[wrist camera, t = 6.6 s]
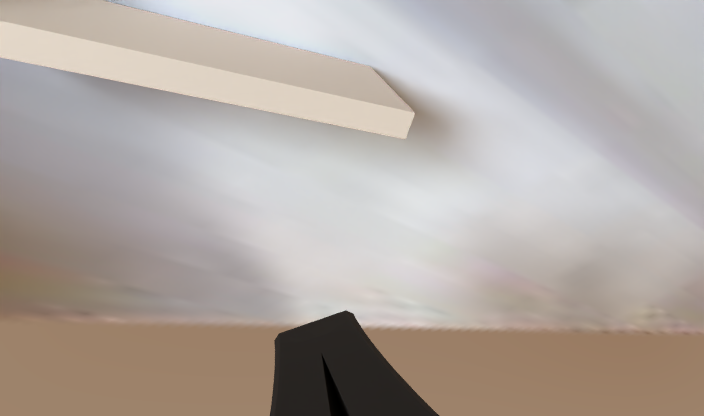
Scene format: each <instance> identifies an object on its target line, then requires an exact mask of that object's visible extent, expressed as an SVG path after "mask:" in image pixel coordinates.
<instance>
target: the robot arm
mask: <svg viewBox="0 0 704 416" xmlns="http://www.w3.org/2000/svg"><path fill="white" fill-rule="evenodd" d="M270 416H439V415H438V414H437V413H436V412H435V411H434V410H433V409H432V408H431V407H430V406H428V404H427V403H425V401H424V400H423V399H422V398H421V397H420V396H419V395H418V394H417V393H416V392H415V391H414V390H413V389H412V388H411V387H410V386H409V385H408V384H407V383H406V381H405V380H404V379H403V378H402V377H401V376H400V375H399V374H398V373H397V372H396V371H395V370H394V369H393V367H392V366H391V365H390V364H389V363H388V362H387V360H386V359H385V358H384V357H383V356H382V354H381V353H380V352H379V351H378V350H377V348H376V347H375V346H374V344H373V343H372V342H371V341H370V339H369V338H368V337H367V335H366V334H365V332H364V331H363V329H362V328H361V326H360V325H359V323H358V321H357V320H356V318H355V316H354V314H353V313H351V312H348V311H343V312H340V313H337V314H334V315H331V316H328V317H326V318H323V319H320V320H317V321H314V322H311V323H308V324H305V325H303V326H300V327H297V328H294V329H291V330H288V331H285V332H282V333H280V334H279V335H278V336H277V338H276V339H275V374H274V385H273V396H272V405H271V412H270Z"/></svg>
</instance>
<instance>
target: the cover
mask: <svg viewBox="0 0 704 416" xmlns="http://www.w3.org/2000/svg"><path fill="white" fill-rule="evenodd" d="M0 57H1V58H6V59H11V60H16V61H21V62H26V63H30V64H35V65H40V66H45V67H50V68H55V69H60V70H65V71H70V72H75V73H80V74H85V75H90V76H95V77H100V78H105V79H110V80H115V81H120V82H124V83H129V84H134V85H139V86H144V87H149V88H154V89H159V90H164V91H169V92H174V93H179V94H184V95H189V96H194V97H199V98H204V99H209V100H213V101H218V102H223V103H228V104H233V105H238V106H243V107H248V108H253V109H258V110H263V111H268V112H273V113H278V114H283V115H288V116H293V117H298V118H302V119H307V120H312V121H317V122H322V123H327V124H332V125H337V126H342V127H347V128H352V129H357V130H362V131H367V132H372V133H377V134H382V135H387V136H391V137H396V138H401V139H406V137H407V134H408V131H409V128H410V126H411V123H412V120H413V118H414V115H415V112H414V111H413V110H412V109H411V108H410V107H409V106H408V105H407V104H406V103H405V102H404V101H403V100H402V99H401V98H400V97H399V96H398V95H397V94H396V93H395V92H394V90H393V89H392V88H391V87H390V86H389V85H388V84H387V83H386V82H385V81H384V80H383V79H382V78H381V77H380V76H379V75H378V74H377V73H376V72H375V71H374V70H373V69H372V68H371V67H370V66H366V65H362V64H358V63H354V62H350V61H346V60H342V59H338V58H334V57H330V56H326V55H322V54H318V53H314V52H310V51H306V50H302V49H298V48H294V47H290V46H286V45H282V44H278V43H273V42H269V41H265V40H261V39H257V38H253V37H249V36H245V35H241V34H237V33H233V32H229V31H225V30H221V29H217V28H213V27H209V26H205V25H201V24H197V23H193V22H189V21H185V20H180V19H176V18H172V17H168V16H164V15H160V14H156V13H152V12H148V11H144V10H140V9H136V8H132V7H128V6H124V5H120V4H116V3H112V2H108V1H104V0H0Z"/></svg>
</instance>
